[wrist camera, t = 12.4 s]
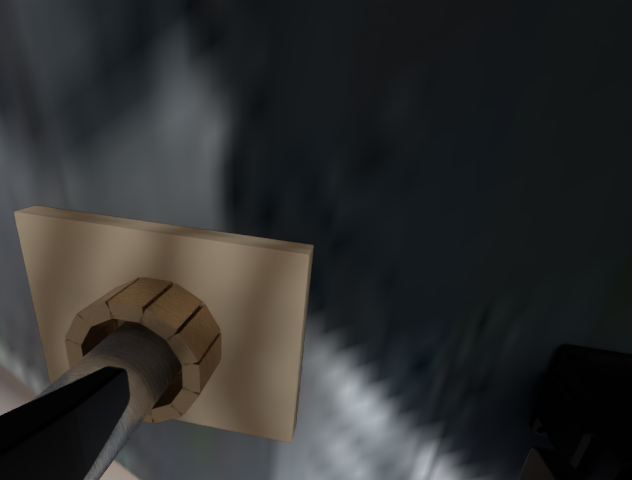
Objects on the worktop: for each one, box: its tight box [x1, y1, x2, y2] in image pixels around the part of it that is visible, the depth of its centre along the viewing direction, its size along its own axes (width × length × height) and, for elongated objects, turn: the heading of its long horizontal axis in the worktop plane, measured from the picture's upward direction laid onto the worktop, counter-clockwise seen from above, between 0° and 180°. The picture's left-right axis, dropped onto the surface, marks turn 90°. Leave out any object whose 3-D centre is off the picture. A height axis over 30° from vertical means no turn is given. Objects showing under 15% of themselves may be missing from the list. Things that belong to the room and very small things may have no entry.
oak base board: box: [14, 206, 314, 443], centre depth 23 cm, size 18×14×2 cm
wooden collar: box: [64, 277, 221, 423], centre depth 21 cm, size 8×8×3 cm
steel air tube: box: [32, 321, 182, 480], centre depth 16 cm, size 5×5×14 cm
